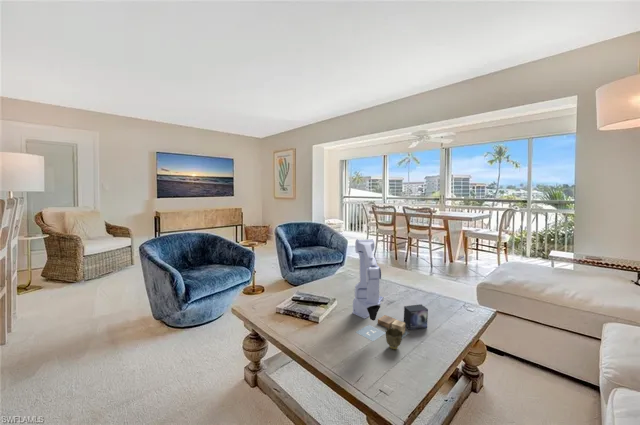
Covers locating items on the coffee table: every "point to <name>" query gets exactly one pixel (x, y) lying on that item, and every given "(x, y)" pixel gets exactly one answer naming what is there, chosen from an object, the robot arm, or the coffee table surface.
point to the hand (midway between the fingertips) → (372, 319)
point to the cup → (393, 338)
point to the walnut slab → (386, 321)
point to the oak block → (399, 326)
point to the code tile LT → (370, 332)
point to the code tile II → (405, 334)
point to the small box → (415, 317)
